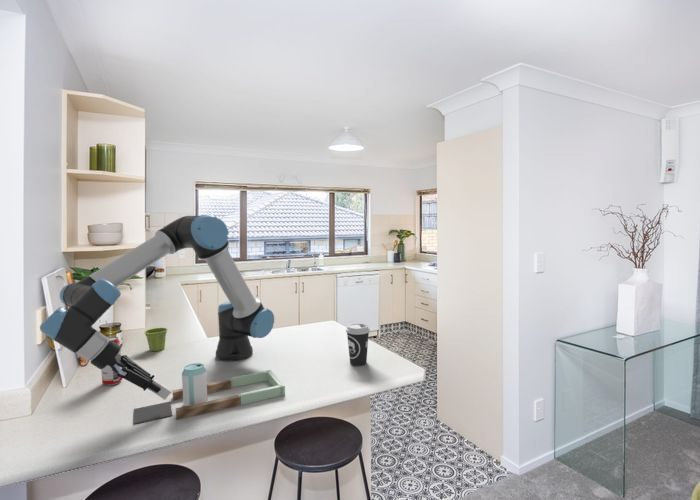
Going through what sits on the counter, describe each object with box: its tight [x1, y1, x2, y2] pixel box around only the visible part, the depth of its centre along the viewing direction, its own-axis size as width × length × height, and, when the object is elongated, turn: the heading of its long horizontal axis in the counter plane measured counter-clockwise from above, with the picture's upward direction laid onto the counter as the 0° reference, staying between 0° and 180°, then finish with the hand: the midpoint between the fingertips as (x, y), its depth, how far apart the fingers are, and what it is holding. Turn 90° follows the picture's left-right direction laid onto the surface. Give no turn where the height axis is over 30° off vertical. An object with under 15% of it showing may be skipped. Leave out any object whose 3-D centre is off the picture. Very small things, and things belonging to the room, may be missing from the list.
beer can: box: [100, 336, 123, 387], centre depth 140 cm, size 6×6×16 cm
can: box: [181, 362, 208, 407], centre depth 123 cm, size 7×7×12 cm
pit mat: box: [133, 401, 173, 425], centre depth 118 cm, size 10×10×1 cm
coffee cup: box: [345, 322, 371, 367], centre depth 156 cm, size 10×10×15 cm
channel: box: [172, 378, 241, 420], centre depth 124 cm, size 18×16×2 cm
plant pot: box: [143, 327, 168, 352], centre depth 177 cm, size 9×9×9 cm
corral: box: [229, 369, 286, 406], centre depth 132 cm, size 14×16×3 cm
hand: (167, 395), depth 119 cm, fingers closed
